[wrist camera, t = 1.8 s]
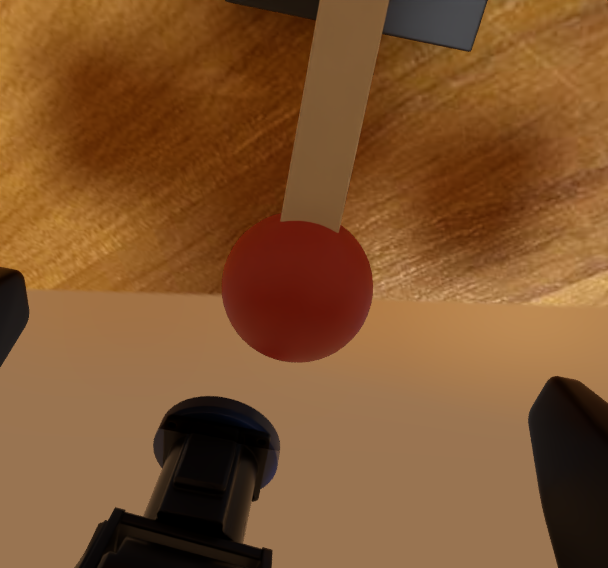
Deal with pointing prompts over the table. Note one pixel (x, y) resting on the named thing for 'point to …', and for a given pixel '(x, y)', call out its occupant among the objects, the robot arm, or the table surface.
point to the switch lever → (313, 207)
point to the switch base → (405, 18)
